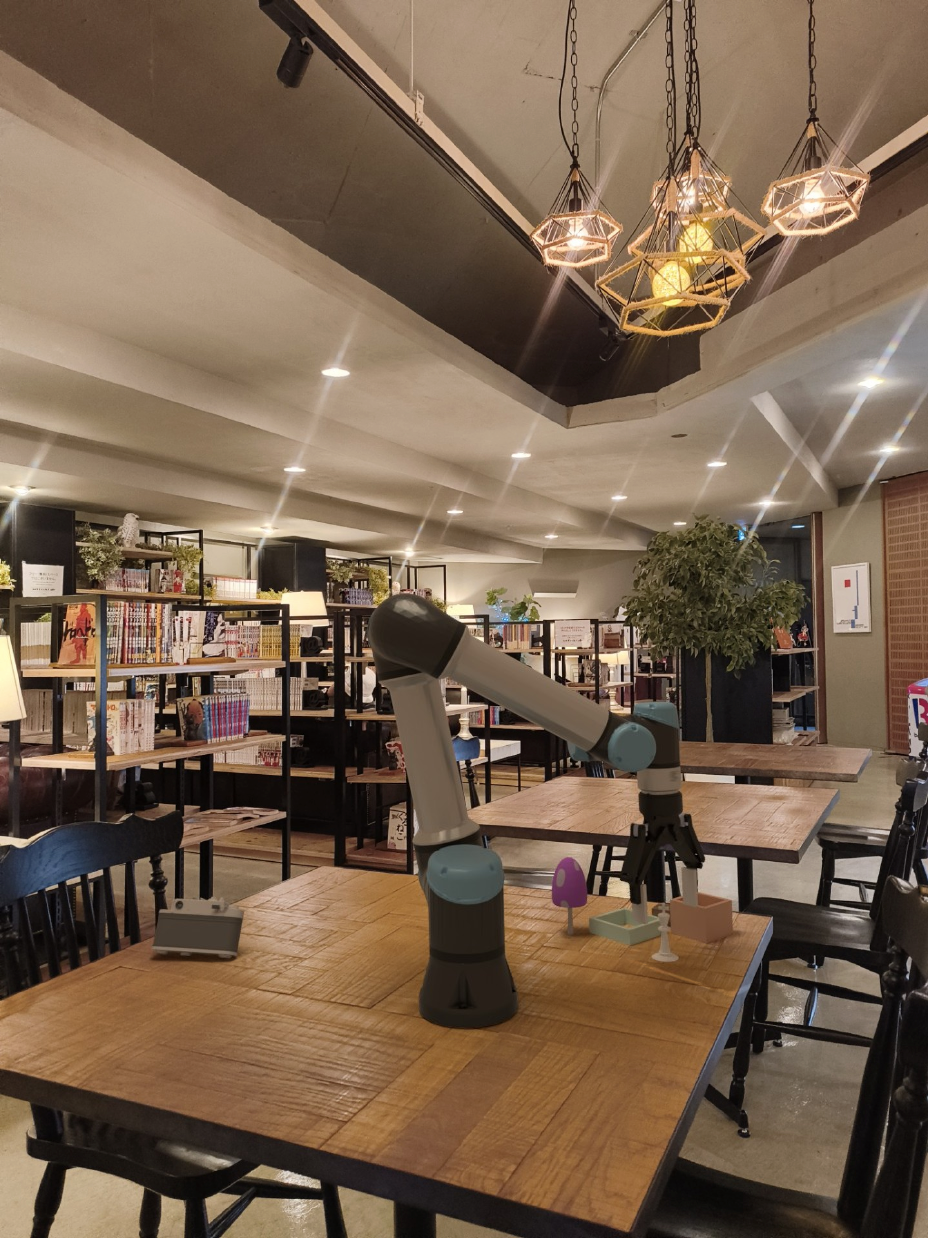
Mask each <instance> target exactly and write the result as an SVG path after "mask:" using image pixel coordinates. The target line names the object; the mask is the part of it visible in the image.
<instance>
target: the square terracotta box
mask: <svg viewBox="0 0 928 1238" xmlns="http://www.w3.org/2000/svg"><path fill="white" fill-rule="evenodd" d="M697 892H698V907H693V906H689V905H685V904H683V895H681V896H678V897H675V898H671V899H669V905H670V916H671V927H670V929H671V930H670V933H671V934H673V935H676V936H679V937H683V938H686V939H690V940H692V941H696V942H699V943H703V944H706V945H707V944H710V943H712V942H716V941H718V940H721V939H723V938H726V937H729V936H731V935H734V923H733V922H734V921H733V900H732V899H728V898H724V897H720V896H715V895H712V894H708V893H704V892H699V891H697Z"/></svg>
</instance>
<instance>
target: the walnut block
mask: <svg viewBox="0 0 928 1238" xmlns="http://www.w3.org/2000/svg"><path fill="white" fill-rule="evenodd" d="M659 906H661V907H662V903H660V902H659V903H657V904H655V905H654V906H653V907H652V908H651V915H653V916H656V917H658V914H659V913H662V910H659ZM665 907H669V910H665V913H668V914H669V915H670V904H668V903H665ZM667 926H668V927H670V928H671V916H670V917H669V920H668V924H667Z"/></svg>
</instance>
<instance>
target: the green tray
mask: <svg viewBox="0 0 928 1238" xmlns="http://www.w3.org/2000/svg"><path fill="white" fill-rule="evenodd" d="M588 923H589V924H588V926H589V927H588V928H589V930H588V931H589V934H592V935H596V936H599V937H601V938H605V939H608V940H612V941H614V942H617V943H621V944H624V945H626V946H633V945H636V944H639V943H642V942H645V941H648V940H651V939H655V938H656V937H659V936H660V937H661V934H662V931H660V930H658V927H660V926H661V923H660V920H659V917H656V916H653V915H652V914H648V924H641V923H638V922H634V921H633V916H632V908H631V909H630V908H628V907H622V908H618V909H615V910H611V911H608V912H604V913H602V914H598V915H595V916H591V917H589V918H588ZM625 924H626V925H629V926H631V927H627V926H623V925H625Z"/></svg>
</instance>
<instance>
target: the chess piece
mask: <svg viewBox="0 0 928 1238" xmlns="http://www.w3.org/2000/svg"><path fill="white" fill-rule="evenodd" d="M661 904H662V907H661V906H659V910H662V913H659V914H658V917H659V920H660V923H661V926H660V927H658V930H660V931H662V934H661V935H660V947H659V950H657V952H656V953H653V954H652V955H651V958H652V959H653V960H656V961H659V962H665V963H666V962H667V963H668V962H675V961H678V960H679V956H678V955H677V954H676V953H672V951H671V949H670V943H669V935H668V932H671V927H668V926H667V924H668V920H669V917H670V915H669V914H668V913H665V910H669V907H665V904H666V903H665V902H662V903H661Z"/></svg>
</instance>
